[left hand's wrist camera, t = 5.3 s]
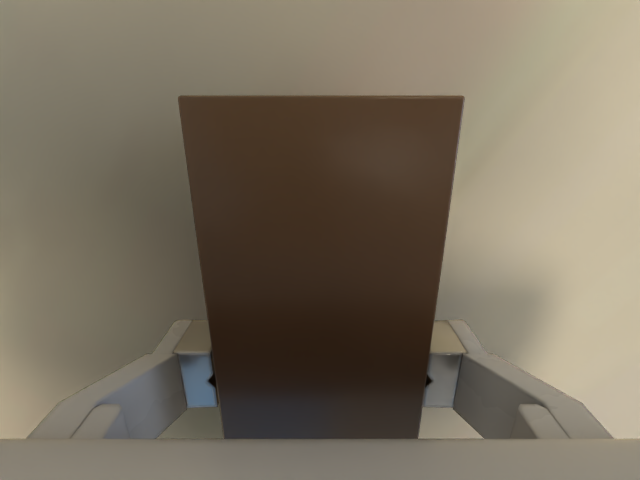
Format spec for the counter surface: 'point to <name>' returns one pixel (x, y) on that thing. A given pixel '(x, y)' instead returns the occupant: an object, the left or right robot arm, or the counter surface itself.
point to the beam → (321, 256)
